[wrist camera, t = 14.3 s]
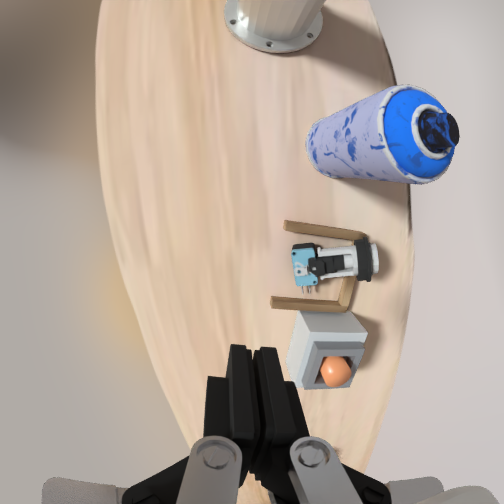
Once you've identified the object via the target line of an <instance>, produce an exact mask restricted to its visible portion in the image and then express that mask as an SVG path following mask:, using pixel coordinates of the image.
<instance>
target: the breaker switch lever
mask: <svg viewBox="0 0 504 504" xmlns="http://www.w3.org/2000/svg"><path fill="white" fill-rule="evenodd" d="M319 370H320V372H321V374H322V376H323V379H324V381H325V383H326V385H327V386H329V387H338V386H341V385H343V384H345V383H346V382H347V381H348V380H349V379H350V377H351V373H352V372H351V369H350V368H349V366H348V364H347V363H346V361H345V359H344V357H343V356H328V357H323V359H322V362H321V365H320V368H319Z"/></svg>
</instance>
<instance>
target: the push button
mask: <svg viewBox="0 0 504 504" xmlns="http://www.w3.org/2000/svg"><path fill="white" fill-rule="evenodd" d="M317 249H318V252H317V253H315V245H314V243H304V244H295V245H293V248H292V253H291V256H292V262H293V268H294V275H295V281H296V285H297V286H301V288H302V295H303V286H307V285H308V287H309V294H310V285H317V284H318V276H320V277H321V280H324V278H331V277H341V276H356V277H357V280H358V281H363V280H366V281H367V282H370V281H371V275H373V274H376V273H378V270H379V260H378V251H377V247H376V244H375V243H373V244H370V243H368V239H367V237H363V239H358V240H354V245H353V246H345V247H335V248H325V249H321V248H320V247H318V248H317ZM343 254H344V255H343Z"/></svg>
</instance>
